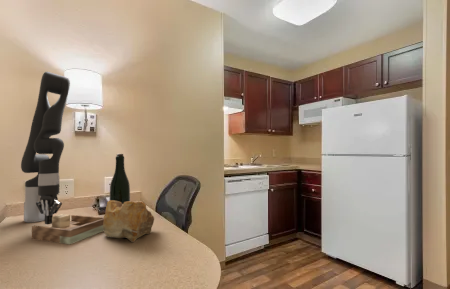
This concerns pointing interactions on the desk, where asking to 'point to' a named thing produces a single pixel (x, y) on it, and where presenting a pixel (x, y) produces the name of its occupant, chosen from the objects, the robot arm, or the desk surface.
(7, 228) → the desk surface
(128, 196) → the dark green wine bottle
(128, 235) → the rough brown rock
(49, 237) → the tray
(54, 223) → the birch block
